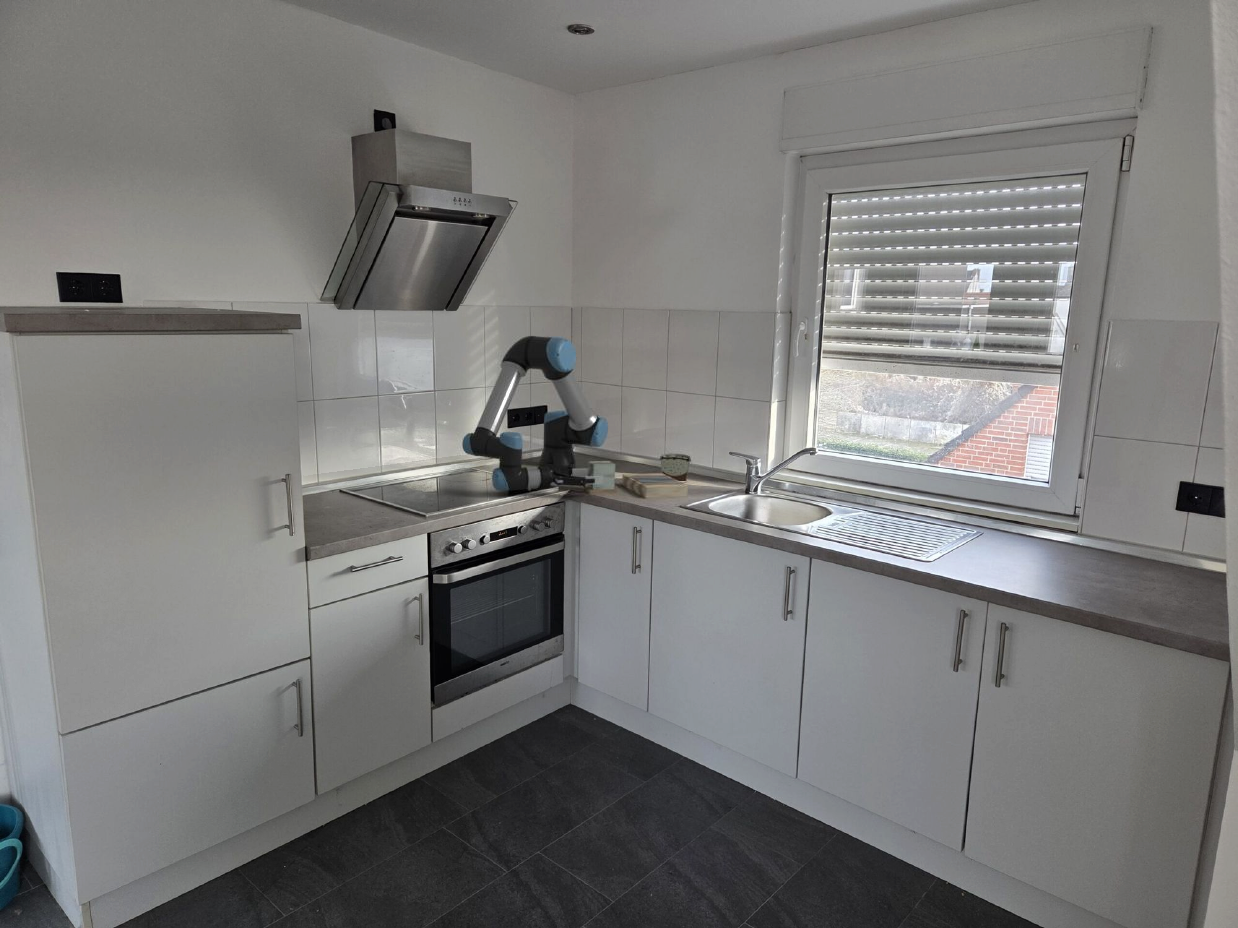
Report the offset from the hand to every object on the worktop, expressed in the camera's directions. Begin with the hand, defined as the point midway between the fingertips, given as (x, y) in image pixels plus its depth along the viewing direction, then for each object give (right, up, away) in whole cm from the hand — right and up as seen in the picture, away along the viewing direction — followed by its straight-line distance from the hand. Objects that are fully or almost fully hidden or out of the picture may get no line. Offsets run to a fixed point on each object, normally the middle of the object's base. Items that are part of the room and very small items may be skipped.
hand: (596, 475), depth 287 cm
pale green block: (+1, -6, +2) cm, 6 cm away
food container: (+30, -2, +29) cm, 41 cm away
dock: (+21, -5, +8) cm, 23 cm away
